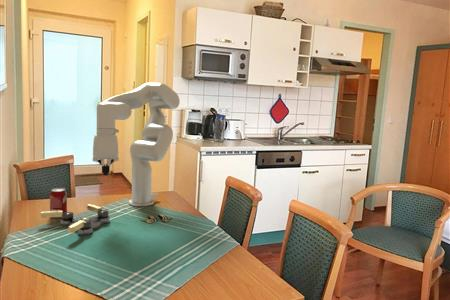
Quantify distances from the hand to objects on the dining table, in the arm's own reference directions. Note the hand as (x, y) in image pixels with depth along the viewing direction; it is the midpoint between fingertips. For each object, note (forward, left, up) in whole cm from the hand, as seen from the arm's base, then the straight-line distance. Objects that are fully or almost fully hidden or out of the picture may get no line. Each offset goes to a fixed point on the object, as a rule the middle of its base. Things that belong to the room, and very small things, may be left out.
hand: (105, 174), depth 164 cm
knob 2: (+4, -1, -17) cm, 18 cm away
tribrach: (+9, +3, -20) cm, 22 cm away
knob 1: (+19, +12, -17) cm, 28 cm away
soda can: (+13, -16, -20) cm, 29 cm away
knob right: (+19, -6, -17) cm, 26 cm away
